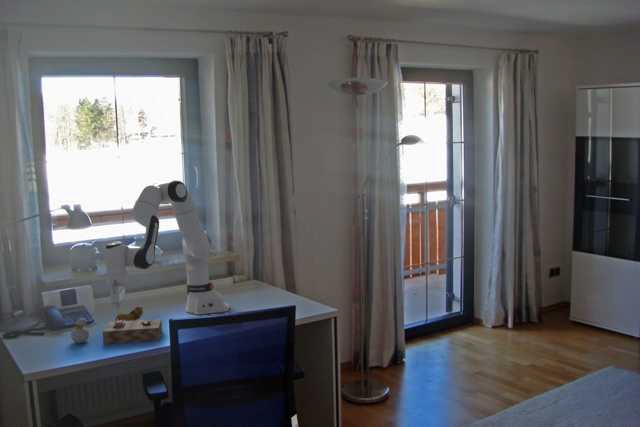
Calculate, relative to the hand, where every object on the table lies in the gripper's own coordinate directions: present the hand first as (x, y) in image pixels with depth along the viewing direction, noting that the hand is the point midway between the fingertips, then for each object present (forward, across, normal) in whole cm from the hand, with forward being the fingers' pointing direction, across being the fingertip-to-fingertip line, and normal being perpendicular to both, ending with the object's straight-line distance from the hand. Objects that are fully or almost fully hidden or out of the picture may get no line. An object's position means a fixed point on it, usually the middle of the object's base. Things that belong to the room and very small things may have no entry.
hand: (119, 308), depth 297 cm
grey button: (+13, 0, -11) cm, 17 cm away
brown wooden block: (+14, 0, -5) cm, 15 cm away
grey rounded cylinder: (+12, 0, +1) cm, 12 cm away
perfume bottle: (+14, -2, +17) cm, 22 cm away
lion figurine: (+15, +19, -1) cm, 24 cm away
